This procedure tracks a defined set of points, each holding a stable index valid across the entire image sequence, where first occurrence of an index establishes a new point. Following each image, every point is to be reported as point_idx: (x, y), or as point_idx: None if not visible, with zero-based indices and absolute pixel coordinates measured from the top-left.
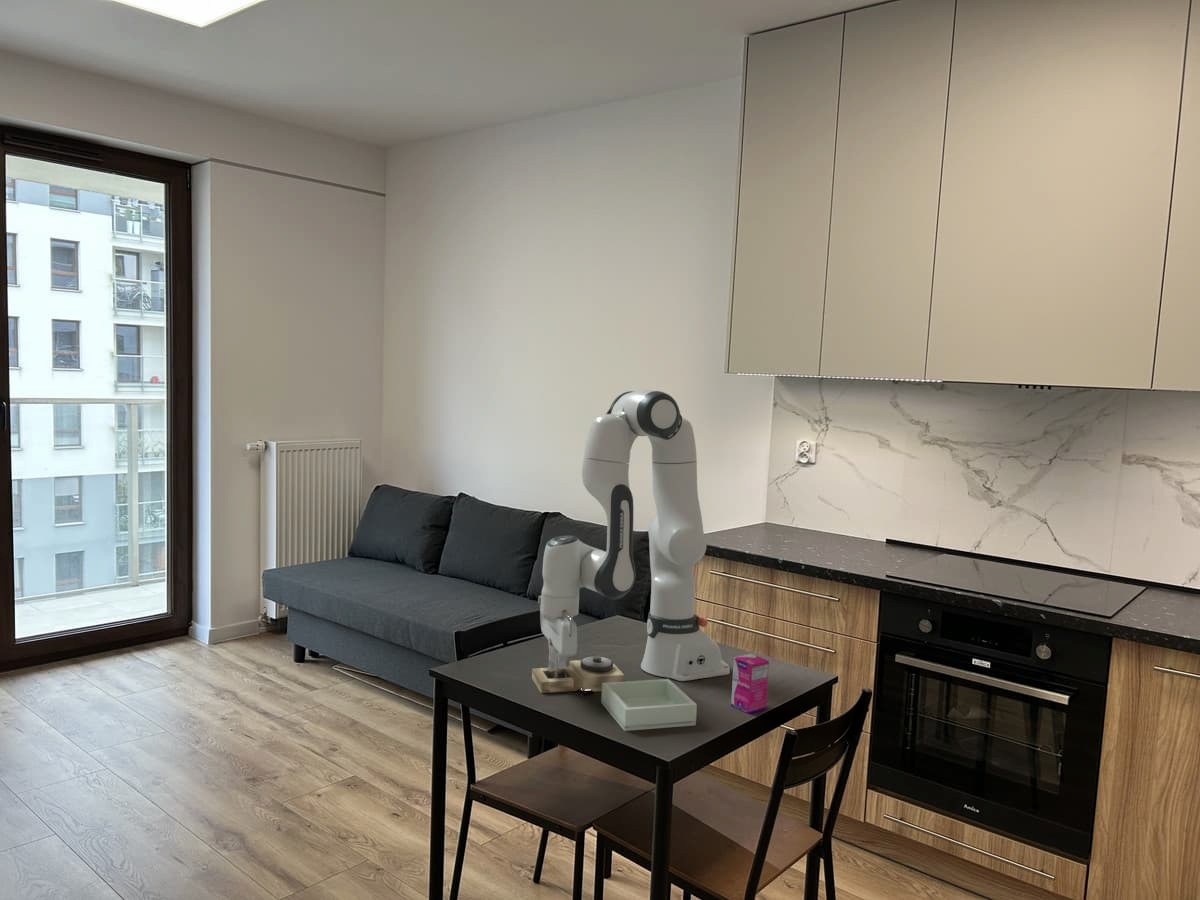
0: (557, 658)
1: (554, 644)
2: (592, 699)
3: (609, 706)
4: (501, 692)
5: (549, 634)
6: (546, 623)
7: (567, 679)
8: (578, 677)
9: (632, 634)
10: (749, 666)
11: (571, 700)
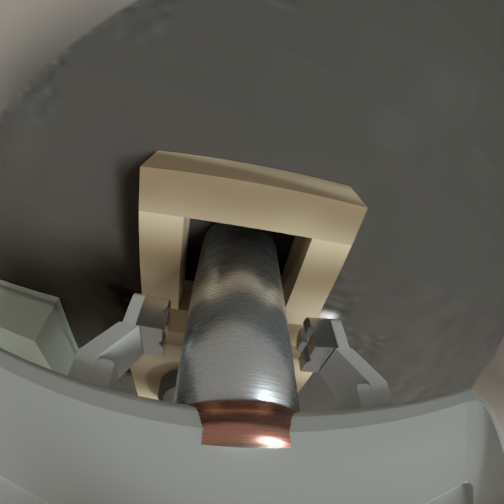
0: (183, 340)
1: (107, 418)
2: (79, 290)
3: (3, 292)
4: None
5: (309, 470)
6: (422, 495)
7: (155, 288)
8: (171, 327)
9: None
10: None
11: (70, 233)
